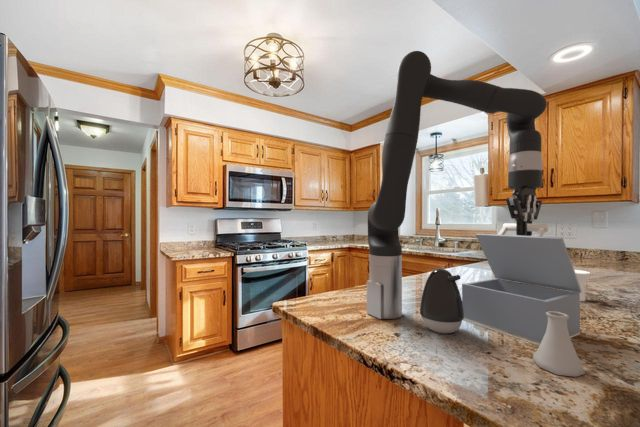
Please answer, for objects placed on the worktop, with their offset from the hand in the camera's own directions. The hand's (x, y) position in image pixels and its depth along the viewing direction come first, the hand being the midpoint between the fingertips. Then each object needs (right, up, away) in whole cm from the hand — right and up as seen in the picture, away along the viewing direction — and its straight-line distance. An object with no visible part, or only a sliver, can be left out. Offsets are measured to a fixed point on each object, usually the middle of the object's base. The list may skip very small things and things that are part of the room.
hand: (524, 235), depth 78 cm
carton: (-3, -23, -2) cm, 24 cm away
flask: (-10, -23, -23) cm, 34 cm away
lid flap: (0, -7, 0) cm, 7 cm away
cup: (+34, -24, +24) cm, 48 cm away
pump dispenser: (-24, -23, -5) cm, 34 cm away
